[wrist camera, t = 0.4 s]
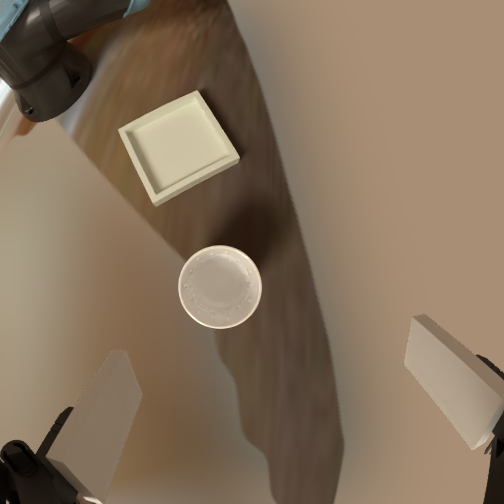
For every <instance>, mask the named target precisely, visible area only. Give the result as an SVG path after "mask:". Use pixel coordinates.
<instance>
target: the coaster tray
mask: <svg viewBox="0 0 504 504" xmlns="http://www.w3.org/2000/svg"><path fill="white" fill-rule="evenodd" d="M118 131H119V133H120V135H121V138H122V140H123V142H124V144H125V146H126V149H127V151H128V153H129V155H130V157H131V159H132V162H133V164H134V166H135V168H136V170H137V172H138V174H139V176H140V178H141V180H142V182H143V184H144V186H145V188H146V190H147V192H148V194H149V196H150V198H151V200H152V202H153V204H154V205H155V206H156V207H157V206H158V205H160V204H162V203H164V202H165V201H167V200H169V199H171V198H172V197H174V196H176V195H178V194H180V193H181V192H183V191H185V190H187V189H189V188H191V187H192V186H194V185H196V184H198V183H200V182H202V181H204V180H206V179H208V178H209V177H211V176H213V175H215V174H217V173H219V172H221V171H223V170H225V169H227V168H229V167H231V166H233V165H235V164H237V163H239V159H240V157H239V155H238V153H237V152H236V150H235V148H234V147H233V145H232V144H231V142H230V140H229V139H228V137H227V136H226V134H225V132H224V131H223V129H222V128H221V126H220V125H219V123H218V121H217V120H216V118H215V117H214V115H213V114H212V112H211V110H210V109H209V107H208V106H207V104H206V103H205V101H204V100H203V98H202V97H201V95H200V93H199V92H198V90H197V91H195V92H192V93H190V94H188V95H185V96H183V97H181V98H179V99H176V100H174V101H172V102H170V103H168V104H166V105H164V106H162V107H160V108H158V109H155V110H154V111H152V112H150V113H148V114H146V115H144V116H142V117H140V118H138V119H136V120H134V121H133V122H131V123H129V124H127V125H125V126H124V127H122V128H120V129H118Z"/></svg>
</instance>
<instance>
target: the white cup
mask: <svg viewBox="0 0 504 504" xmlns="http://www.w3.org/2000/svg"><path fill="white" fill-rule="evenodd" d="M178 289H179V296H180V300H181V302H182V304H183V306H184V308H185V310H186V311H187V313H188V314H189V315H190V316H191V317H192V318H193V319H194V320H196V321H197V322H199V323H200V324H202V325H205V326H207V327H211V328H218V329H222V328H230V327H233V326H236V325H238V324H240V323H242V322H243V321H245V320H246V319H247V318H249V317H250V316H251V314H252V313H253V312H254V311H255V309H256V307H257V305H258V303H259V301H260V297H261V292H262V283H261V277H260V274H259V271H258V269H257V267H256V265H255V264H254V262H253V261H252V260H251V259H250V258H249V257H248V256H247V255H246V254H245V253H243V252H242V251H240V250H238V249H236V248H233V247H229V246H223V245H217V246H210V247H207V248H204V249H202V250H200V251H198V252H197V253H195V254H194V255H193V256H192V257H191V258H190V259H189V260H188V261H187V262H186V264H185V265H184V267H183V269H182V271H181V274H180V278H179V284H178Z"/></svg>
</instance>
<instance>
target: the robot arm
mask: <svg viewBox="0 0 504 504" xmlns="http://www.w3.org/2000/svg"><path fill="white" fill-rule="evenodd" d="M151 1H152V0H0V77H1V78H2V79H3V80H4V81H5V82H6V83H7V84H8V85H9V86H10V87H11V89H12V90H13V93H14V96H15V99H16V102H17V105H18V108H19V110H20V112H21V113H22V114H23V115H24V116H25V117H26V118H27V119H28V120H30V121H32V122H43V121H47V120H49V119H52V118H54V117H56V116H58V115H59V114H61V113H62V112H64V111H65V110H66V109H68V108H69V107H70V106H71V105H72V104H73V103H74V102H75V101H76V100H77V99H78V98H79V97H80V95H81V94H82V93H83V91H84V90H85V88H86V87H87V85H88V83H89V80H90V77H91V73H92V67H91V63H90V61H89V59H88V57H87V56H86V55H85V53H84V52H82V51H81V50H79V49H78V48H77V47H75V46H74V45H72V44H71V43H69V42H68V41H67V40H69V39H71V38H74V37H76V36H78V35H80V34H82V33H85V32H87V31H89V30H91V29H94V28H96V27H99V26H101V25H104V24H106V23H109V22H112V21H114V20H117V19H123V18H125V17H126V16H128V15H130V14H133V13H136V12H139V11H142V10H144V9H145V8H146V7H147V6H149V4H150V3H151ZM404 365H405V366H406V367H407V368H408V369H409V371H410V372H411V373H412V374H413V375H414V377H415V378H416V379H417V380H418V382H419V383H420V384H421V385H422V387H423V388H424V389H425V390H426V391H427V393H428V394H429V395H430V396H431V397H432V399H433V400H434V401H435V403H436V404H437V405H438V406H439V408H440V409H441V410H442V411H443V413H444V414H445V415H446V417H447V418H448V419H449V420H450V422H451V423H452V424H453V425H454V427H455V428H456V430H457V431H458V432H459V433H460V435H461V436H462V437H463V439H464V440H465V441H466V443H467V444H468V445H469V447H470V448H471V449H472V450H474V449H475V448H477V447H478V446H480V445H482V444H483V443H485V442H486V440H487V439H488V437H489V436H490V434H491V432H493V434H494V435H495V437H494V438H493V440H492V441H491V443H490V444H489V446H488V447H487V448H486V450H485V453H484V454H487V453H488V451H489V450H490V448H491V447H492V449H491V452H490V454H491V460H490V468H489V475H488V482H487V487H486V492H485V498H484V502H483V504H504V373H503V372H502V371H500V369H499V368H497V367H496V366H494V364H493V363H491V361H489V360H488V359H487V358H485V357H482V356H480V355H474V354H473V353H472V352H471V351H470V350H468V349H467V348H466V347H465V346H464V345H462V344H461V343H460V342H459V341H458V340H456V339H455V338H454V337H453V336H452V335H450V334H449V333H448V332H447V331H445V330H444V329H443V328H442V327H440V326H439V325H438V324H437V323H436V322H434V321H433V320H432V319H430V318H429V317H428V316H427V315H425V314H422V315H418V316H414V317H412V321H411V329H410V334H409V340H408V345H407V350H406V355H405V360H404ZM142 397H143V395H142V392H141V390H140V387H139V384H138V382H137V379H136V377H135V374H134V371H133V368H132V366H131V363H130V360H129V357H128V354H127V351H126V350H111V352H110V353H109V355H108V356H107V358H106V359H105V361H104V362H103V364H102V365H101V367H100V368H99V370H98V371H97V373H96V374H95V376H94V377H93V379H92V380H91V382H90V383H89V385H88V387H87V388H86V390H85V391H84V393H83V394H82V396H81V398H80V399H79V401H78V402H77V404H76V405H75V407H68V408H67V409H65V410H64V411H63V412H62V413H61V414H60V415H59V417H58V418H57V420H56V421H55V424H54V425H53V426H52V427H51V429H50V430H51V431H49V432H48V434H47V436H46V437H45V439H44V441H43V442H42V444H41V446H40V447H39V449H38V451H37V453H36V454H34V452H33V451H32V450H31V449H30V448H29V446H28V445H27V444H26V443H25V442H24V441H21V440H13V441H10V442H8V443H7V444H6V445H4V446H3V448H2V450H1V452H0V453H1V454H0V457H1V459H2V460H3V461H4V462H5V463H3V462H2V461H1V460H0V504H6V500H7V501H8V502H9V504H80V502H79V501H78V500H77V498H76V497H77V495H78V493H79V494H80V495H81V496H82V497H84V498H85V499H86V500H88V501H91V502H95V503H98V504H104V503H105V500H106V496H107V494H108V490H109V488H110V484H111V481H112V478H113V475H114V473H115V469H116V467H117V464H118V461H119V458H120V455H121V452H122V450H123V447H124V444H125V441H126V438H127V436H128V433H129V431H130V428H131V425H132V423H133V420H134V417H135V415H136V412H137V409H138V407H139V404H140V402H141V399H142Z"/></svg>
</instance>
